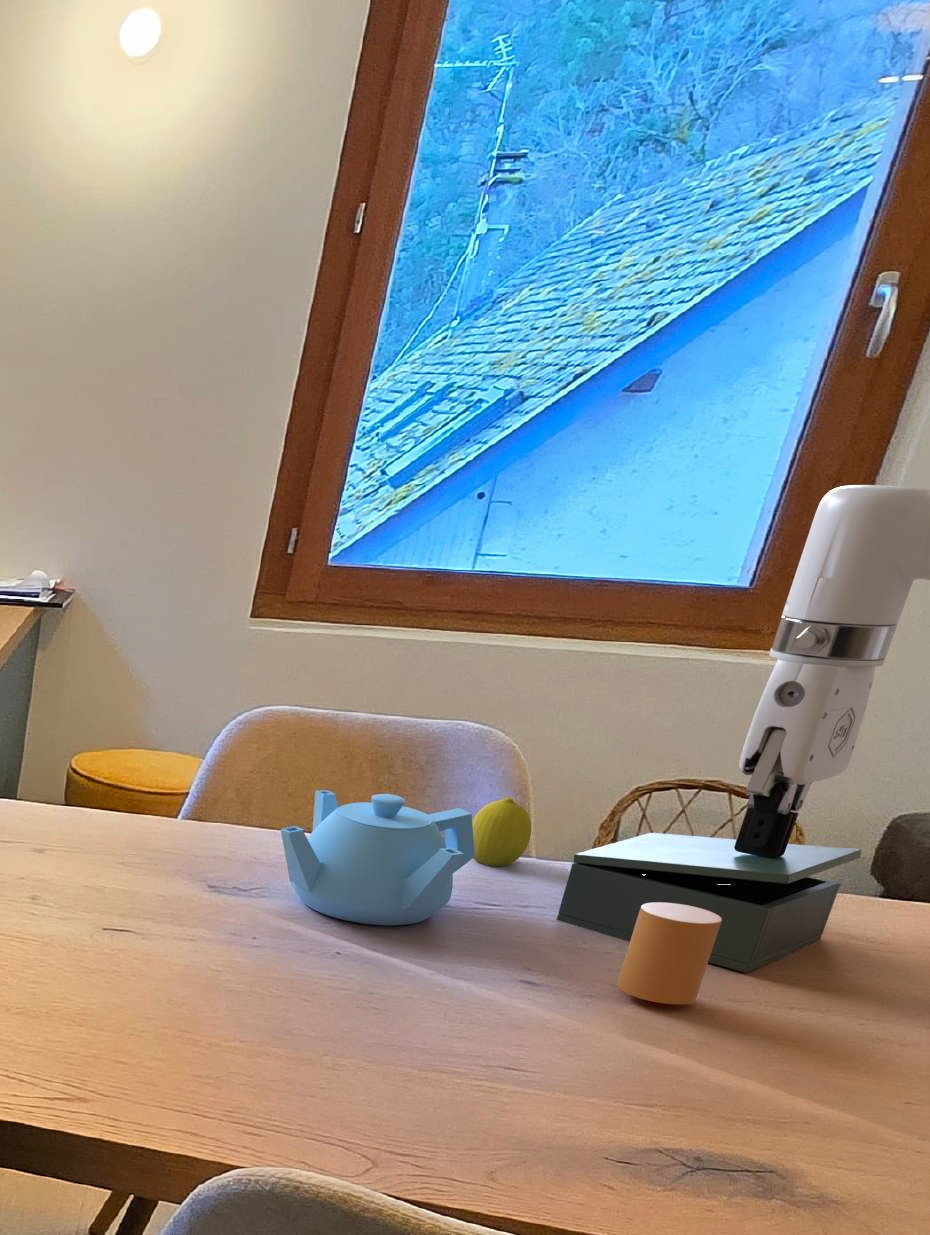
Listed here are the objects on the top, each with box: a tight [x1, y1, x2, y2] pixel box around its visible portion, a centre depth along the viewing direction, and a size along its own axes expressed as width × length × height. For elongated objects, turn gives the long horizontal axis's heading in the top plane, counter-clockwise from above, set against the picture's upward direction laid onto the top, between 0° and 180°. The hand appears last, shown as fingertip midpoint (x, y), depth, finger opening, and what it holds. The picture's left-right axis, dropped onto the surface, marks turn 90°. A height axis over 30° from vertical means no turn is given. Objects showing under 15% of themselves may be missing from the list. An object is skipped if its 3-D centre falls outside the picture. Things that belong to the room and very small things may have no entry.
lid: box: [573, 832, 862, 884], centre depth 128 cm, size 16×15×1 cm
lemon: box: [472, 796, 532, 867], centre depth 147 cm, size 6×6×8 cm
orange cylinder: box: [616, 902, 722, 1005], centre depth 116 cm, size 5×5×7 cm
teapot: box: [280, 789, 475, 926], centre depth 135 cm, size 15×15×11 cm
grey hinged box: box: [556, 862, 842, 974], centre depth 130 cm, size 16×15×6 cm
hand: (758, 853), depth 125 cm, fingers closed
